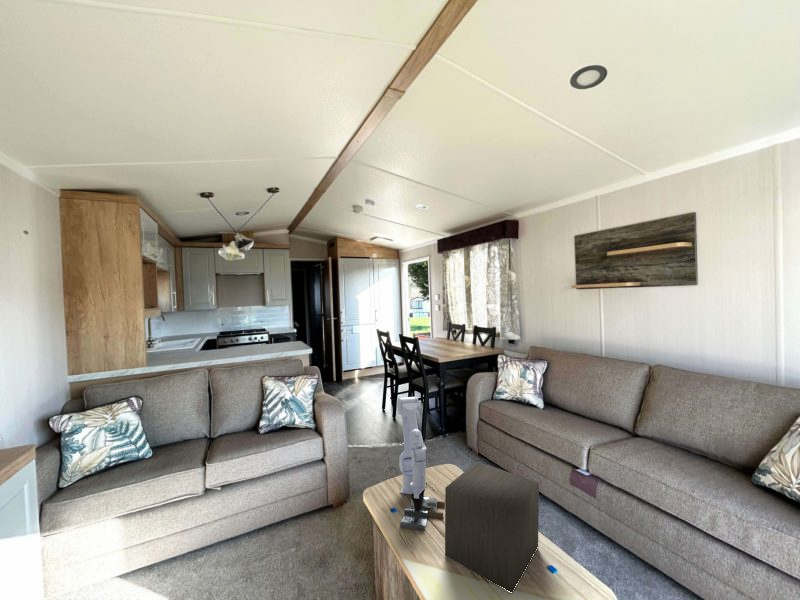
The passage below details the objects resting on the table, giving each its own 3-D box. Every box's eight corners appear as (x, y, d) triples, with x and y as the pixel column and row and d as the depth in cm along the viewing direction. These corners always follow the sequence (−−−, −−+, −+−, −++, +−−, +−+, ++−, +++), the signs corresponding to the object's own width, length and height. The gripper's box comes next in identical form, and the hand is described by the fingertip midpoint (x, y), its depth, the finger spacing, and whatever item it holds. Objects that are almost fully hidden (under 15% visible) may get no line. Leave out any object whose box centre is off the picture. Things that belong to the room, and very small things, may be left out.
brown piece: (429, 503, 153) (429, 499, 153) (444, 505, 152) (444, 501, 152) (426, 515, 145) (426, 511, 145) (443, 518, 144) (443, 513, 144)
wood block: (477, 519, 143) (477, 461, 142) (538, 548, 127) (538, 482, 126) (445, 555, 124) (445, 487, 123) (512, 594, 107) (512, 516, 107)
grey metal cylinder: (410, 511, 148) (410, 499, 148) (413, 504, 153) (413, 492, 153) (436, 515, 146) (436, 502, 146) (437, 507, 151) (437, 495, 151)
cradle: (404, 513, 147) (404, 508, 147) (427, 516, 145) (427, 511, 145) (400, 527, 138) (400, 521, 138) (424, 530, 136) (424, 525, 136)
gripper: (413, 465, 158) (413, 494, 158) (407, 482, 144) (407, 514, 144) (428, 467, 156) (428, 496, 156) (423, 484, 142) (423, 516, 142)
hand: (419, 505), depth 150 cm, fingers open, 7 cm apart
